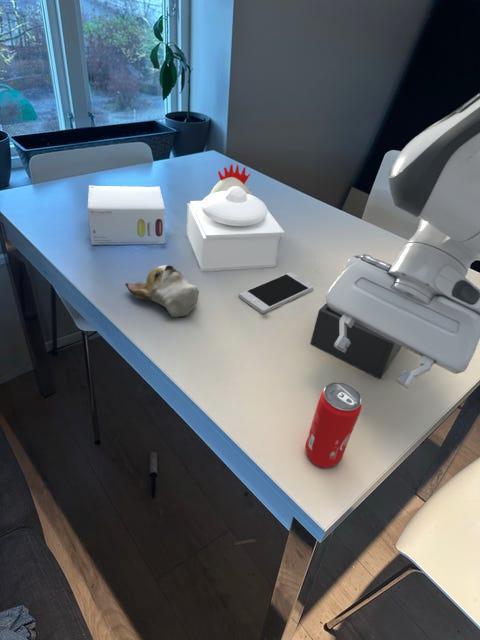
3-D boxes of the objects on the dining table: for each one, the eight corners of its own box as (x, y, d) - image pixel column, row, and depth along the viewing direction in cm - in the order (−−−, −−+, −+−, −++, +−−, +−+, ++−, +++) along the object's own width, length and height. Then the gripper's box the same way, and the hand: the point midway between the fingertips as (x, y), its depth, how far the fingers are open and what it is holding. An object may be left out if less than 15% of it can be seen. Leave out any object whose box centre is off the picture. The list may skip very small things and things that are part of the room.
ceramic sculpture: (168, 290, 75) (119, 258, 83) (169, 332, 80) (123, 297, 88) (215, 271, 81) (165, 243, 90) (214, 311, 86) (167, 281, 95)
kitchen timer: (249, 236, 113) (256, 178, 104) (197, 226, 115) (200, 168, 106) (259, 214, 124) (266, 160, 115) (211, 206, 126) (214, 151, 117)
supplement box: (90, 246, 101) (86, 207, 96) (92, 220, 111) (88, 184, 106) (165, 244, 105) (165, 207, 100) (160, 220, 115) (160, 185, 110)
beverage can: (318, 433, 65) (337, 374, 58) (348, 456, 63) (371, 397, 55) (296, 452, 62) (313, 393, 55) (325, 477, 60) (348, 418, 52)
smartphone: (238, 296, 91) (238, 292, 90) (289, 274, 100) (290, 271, 99) (262, 314, 87) (263, 310, 87) (313, 289, 96) (314, 286, 95)
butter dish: (186, 234, 111) (188, 171, 101) (255, 232, 116) (263, 171, 106) (201, 272, 97) (205, 202, 88) (278, 267, 102) (290, 201, 93)
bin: (405, 340, 85) (420, 307, 80) (380, 379, 76) (394, 344, 71) (341, 311, 91) (351, 279, 86) (310, 344, 82) (318, 309, 77)
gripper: (351, 240, 62) (299, 324, 62) (503, 305, 52) (442, 405, 52) (358, 258, 68) (310, 335, 67) (496, 319, 58) (442, 410, 58)
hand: (369, 366), depth 60 cm, fingers open, 8 cm apart
